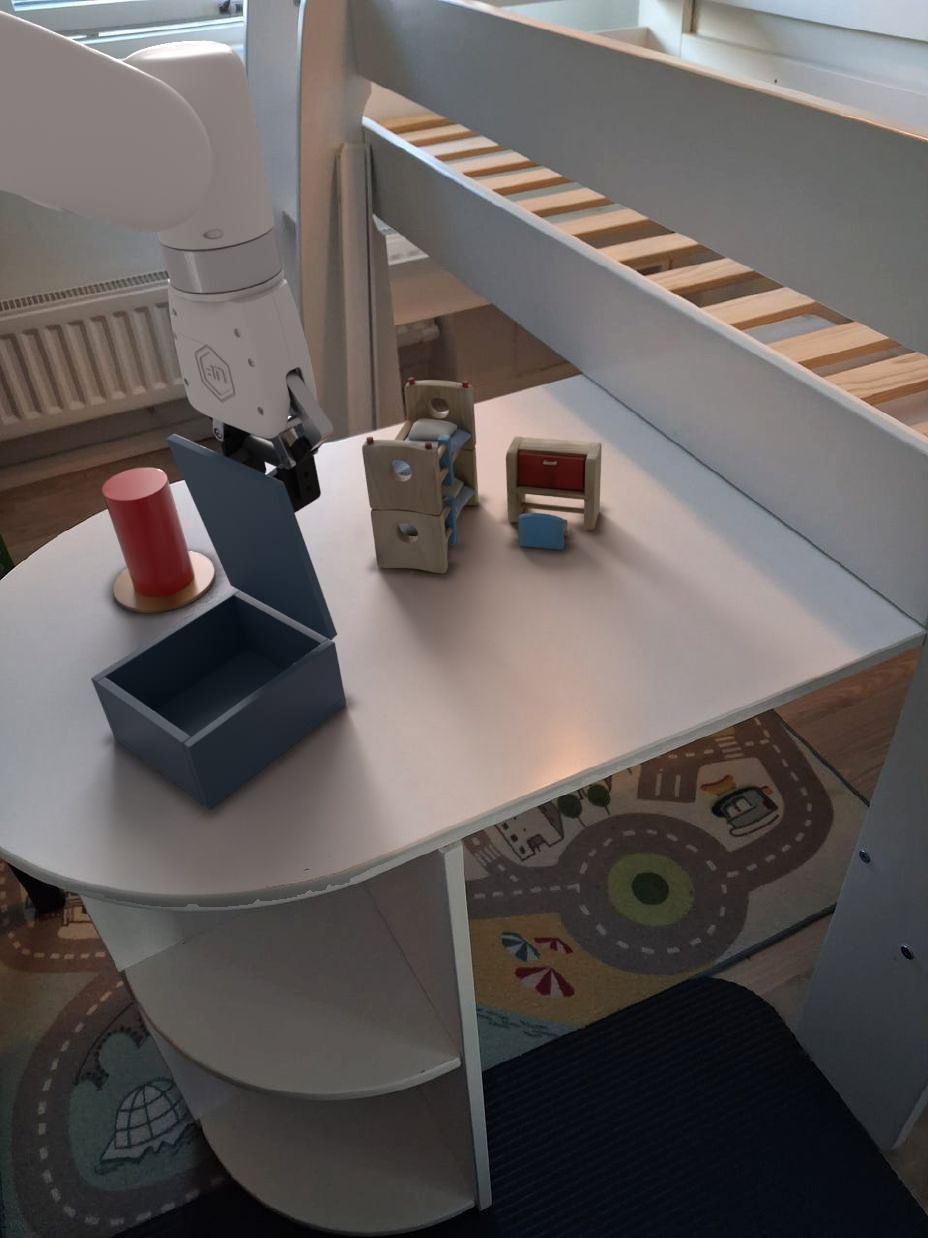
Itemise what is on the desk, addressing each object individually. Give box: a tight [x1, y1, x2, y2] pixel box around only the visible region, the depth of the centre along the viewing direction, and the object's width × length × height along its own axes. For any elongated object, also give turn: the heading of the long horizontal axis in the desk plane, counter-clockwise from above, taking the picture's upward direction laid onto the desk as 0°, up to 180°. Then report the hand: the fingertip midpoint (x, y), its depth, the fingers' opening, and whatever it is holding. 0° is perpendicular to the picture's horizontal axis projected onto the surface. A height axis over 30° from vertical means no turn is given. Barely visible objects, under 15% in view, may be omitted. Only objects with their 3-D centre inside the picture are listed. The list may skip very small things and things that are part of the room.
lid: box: [166, 433, 338, 641], centre depth 78 cm, size 15×13×5 cm
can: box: [101, 467, 194, 597], centre depth 95 cm, size 6×6×11 cm
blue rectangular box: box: [90, 587, 347, 811], centre depth 81 cm, size 15×13×7 cm
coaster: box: [112, 550, 216, 614], centre depth 99 cm, size 10×10×1 cm
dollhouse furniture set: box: [361, 376, 603, 575], centre depth 97 cm, size 14×20×14 cm
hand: (275, 490), depth 77 cm, fingers closed on lid, 5 cm apart
